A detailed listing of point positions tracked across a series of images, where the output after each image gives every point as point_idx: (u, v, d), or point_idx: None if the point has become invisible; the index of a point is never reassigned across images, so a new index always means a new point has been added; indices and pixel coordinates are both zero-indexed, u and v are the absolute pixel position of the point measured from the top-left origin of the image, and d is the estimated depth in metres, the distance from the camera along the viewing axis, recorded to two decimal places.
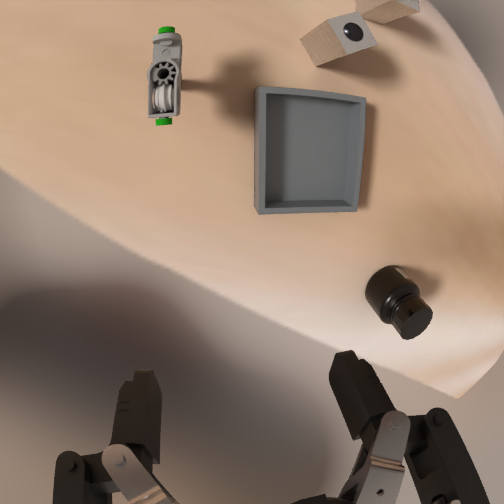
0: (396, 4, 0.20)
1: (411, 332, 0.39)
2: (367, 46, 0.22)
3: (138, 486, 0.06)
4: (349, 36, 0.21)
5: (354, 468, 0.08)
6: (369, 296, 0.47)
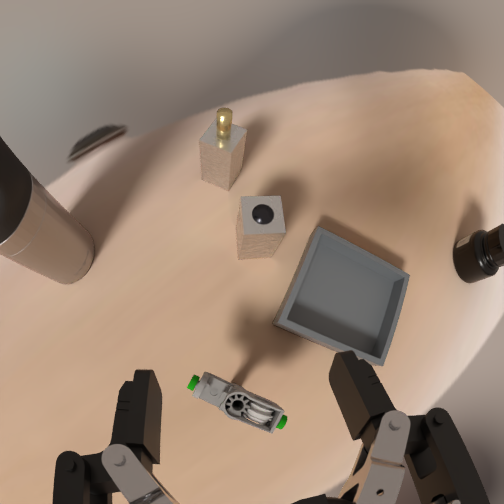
0: (235, 150, 0.34)
1: None
2: (280, 207, 0.31)
3: (138, 486, 0.06)
4: (267, 221, 0.30)
5: (354, 468, 0.08)
6: (472, 280, 0.40)
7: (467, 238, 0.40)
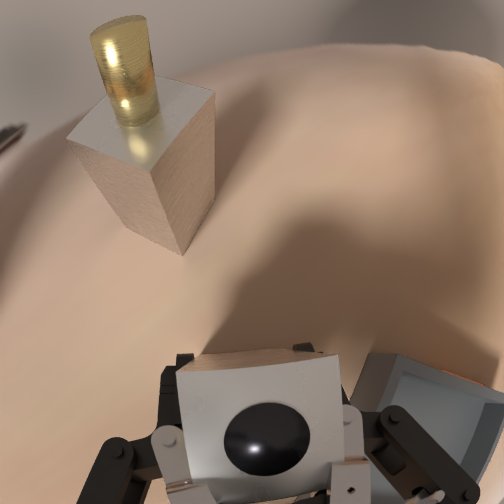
0: (173, 160, 0.10)
1: None
2: (336, 405, 0.07)
3: (180, 470, 0.06)
4: (283, 461, 0.06)
5: None
6: None
7: None
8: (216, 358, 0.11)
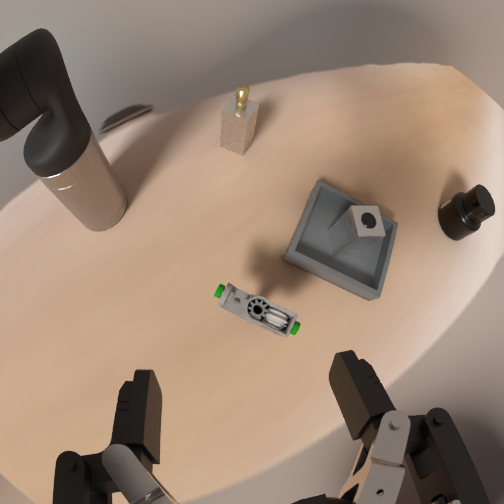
0: (250, 119, 0.41)
1: (490, 206, 0.39)
2: (379, 215, 0.36)
3: (138, 486, 0.06)
4: (372, 226, 0.36)
5: (354, 468, 0.08)
6: (456, 236, 0.47)
7: (449, 199, 0.47)
8: None
